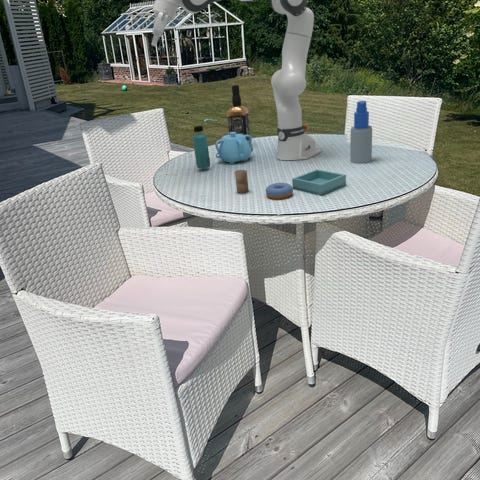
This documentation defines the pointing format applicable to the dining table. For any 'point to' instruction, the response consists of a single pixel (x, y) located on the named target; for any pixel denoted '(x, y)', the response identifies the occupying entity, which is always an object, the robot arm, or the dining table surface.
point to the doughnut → (279, 190)
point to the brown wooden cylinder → (241, 181)
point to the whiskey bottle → (238, 115)
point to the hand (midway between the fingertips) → (153, 45)
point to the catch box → (319, 182)
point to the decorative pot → (234, 148)
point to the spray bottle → (361, 136)
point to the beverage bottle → (201, 148)
